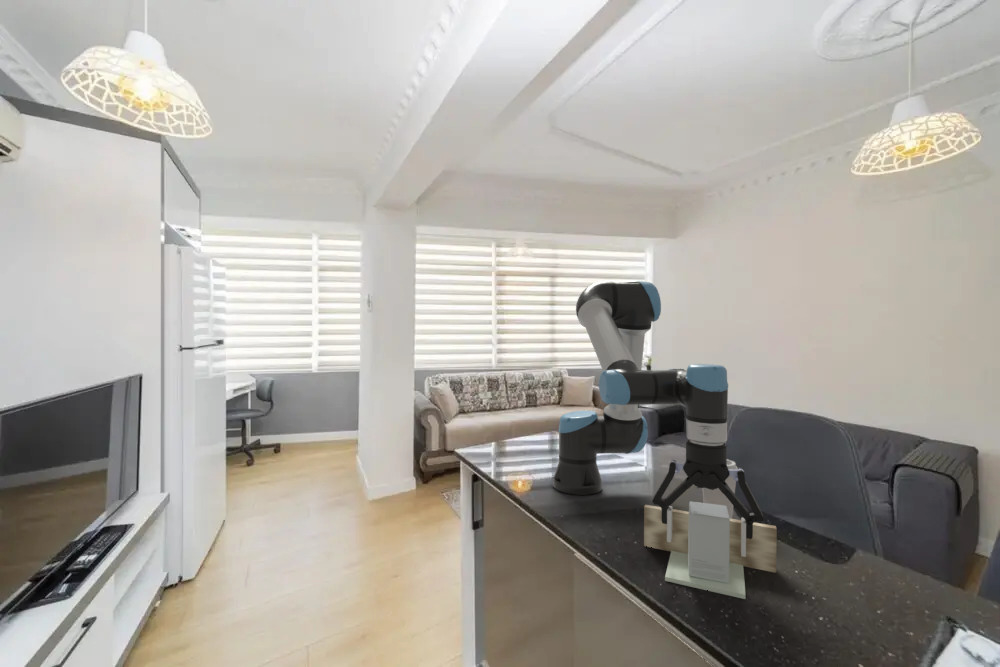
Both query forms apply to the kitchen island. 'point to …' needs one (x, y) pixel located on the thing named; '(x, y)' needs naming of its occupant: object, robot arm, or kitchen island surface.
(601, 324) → the robot arm
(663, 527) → the wooden screen
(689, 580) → the sage pad
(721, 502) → the coffee cup
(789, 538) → the kitchen island surface
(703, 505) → the supplement box
